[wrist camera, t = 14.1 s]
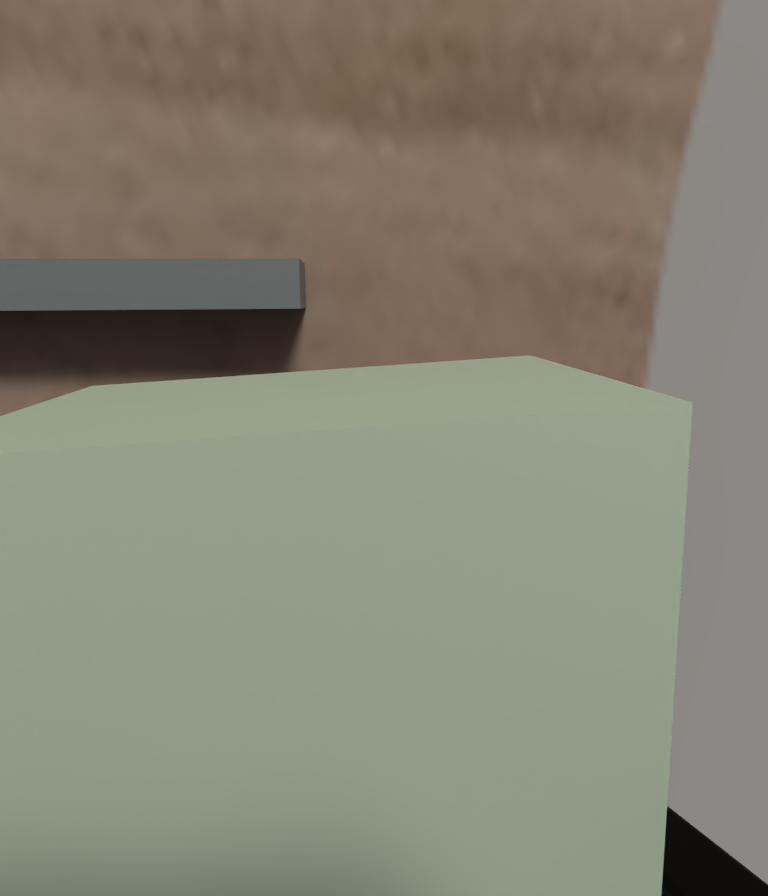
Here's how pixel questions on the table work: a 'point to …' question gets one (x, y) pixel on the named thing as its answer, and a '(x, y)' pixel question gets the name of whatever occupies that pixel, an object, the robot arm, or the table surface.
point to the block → (341, 634)
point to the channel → (151, 284)
